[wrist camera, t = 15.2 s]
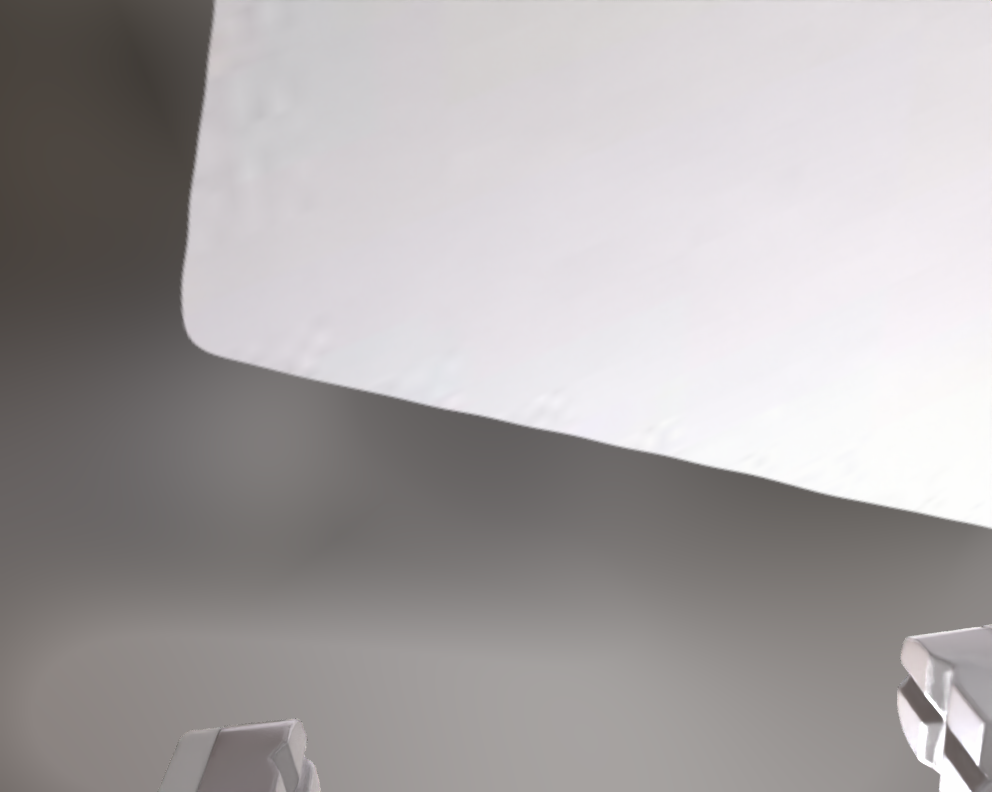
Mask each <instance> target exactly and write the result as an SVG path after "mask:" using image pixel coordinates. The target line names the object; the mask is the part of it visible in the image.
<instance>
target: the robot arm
mask: <svg viewBox="0 0 992 792" xmlns="http://www.w3.org/2000/svg"><path fill="white" fill-rule="evenodd" d="M900 661H901V663H902V664H903V665H904V667H905V668H906V669H907V671H908V672H909V675H908V676H907V677H906V678H905V679H904V680H903V682H902V683H901V684H900V685H899V686H898V696H897V709H898V714H899V718H900V722H901V727H902V730H903V732H904V734H905V736H906V739H907V741H908V743H909V745H910V746H911V748H912V750H913V751H914V753H915V754H916V756H917V757H918V759H919V761H921V762H923V763H924V764H926V765H928V766H929V767H931V768H933V769H934V770H936V771H938V772H939V773H941V775H940V785H939V791H940V792H992V624H991V625H985V626H982V627H973V628H967V629H960V630H952V631H946V632H938V633H931V634H924V635H917V636H910V637H906V639H905V641H904V642H903V644H902V648H901V657H900ZM307 741H308V739H307V736H306V733H305V730H304V727H303V724H302V721H301V720H299V719H296V718H295V719H285V720H277V721H266V722H258V723H248V724H239V725H230V726H224V727H220V728H210V729H200V730H190V731H187V732H186V733H185V734H184V735H183V736H182V737H181V738H180V740H179V741H178V744H177V746H176V749H175V751H174V753H173V756H172V758H171V760H170V763H169V765H168V768H167V770H166V772H165V775H164V777H163V780H162V782H161V785H160V787H159V789H158V792H321V791H320V783H319V777H318V773H317V770H316V766H315V764H314V763H312V762H311V761H310V760H308V759H307V758H306V757H304V754H305V750H306V745H307Z"/></svg>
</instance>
